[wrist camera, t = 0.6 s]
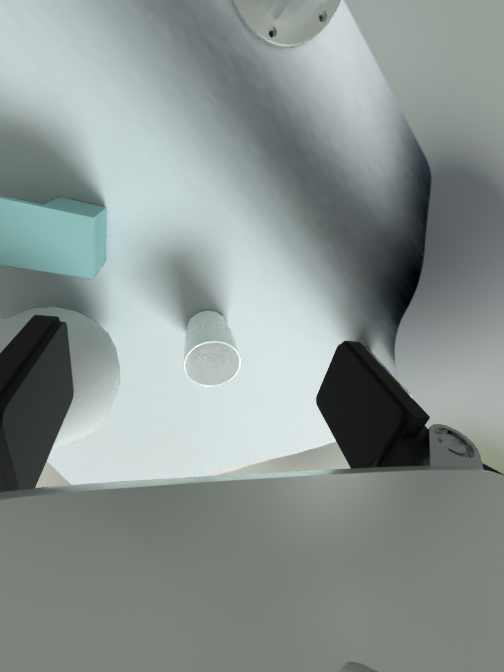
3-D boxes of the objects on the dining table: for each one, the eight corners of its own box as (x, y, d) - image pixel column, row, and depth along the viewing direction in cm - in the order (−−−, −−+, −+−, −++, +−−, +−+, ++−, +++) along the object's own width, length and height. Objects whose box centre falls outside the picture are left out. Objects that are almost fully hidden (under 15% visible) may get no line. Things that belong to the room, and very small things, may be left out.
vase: (31, 381, 48) (-109, 601, 25) (-16, 287, 39) (-300, 490, 16) (139, 370, 51) (104, 558, 28) (118, 280, 42) (40, 443, 19)
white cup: (190, 352, 51) (192, 392, 43) (177, 313, 47) (176, 349, 38) (235, 341, 52) (245, 379, 43) (226, 301, 47) (235, 334, 39)
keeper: (-28, 177, 33) (-69, 183, 27) (106, 207, 37) (93, 217, 31) (-16, 240, 36) (-51, 256, 31) (105, 261, 40) (93, 279, 35)
